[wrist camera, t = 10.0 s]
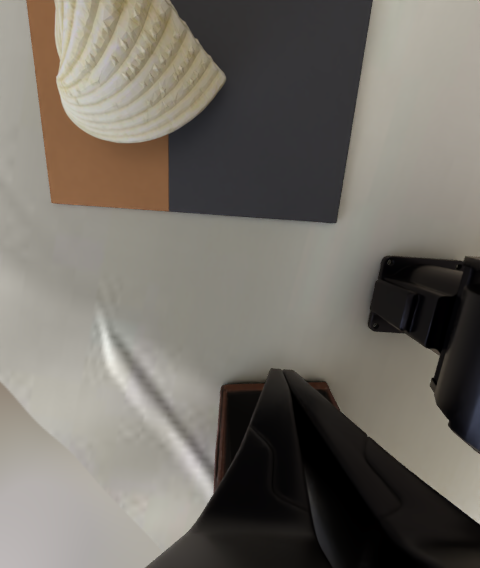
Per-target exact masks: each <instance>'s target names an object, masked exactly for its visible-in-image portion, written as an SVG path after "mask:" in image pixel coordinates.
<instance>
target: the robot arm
mask: <svg viewBox="0 0 480 568" xmlns="http://www.w3.org/2000/svg"><path fill="white" fill-rule="evenodd" d="M389 260H391V263H390V264H389V265H388V261H389ZM456 265H458V267H457V268H456ZM370 309H371V313H370V317H369V322H368V327H369V328H370V329H371V330H373V331H377V332H392V333H405V334H407V335H408V336H410V337H411V338H413V339H414V340H416V341H417V342H418V343H420V344H421V345H423V346H424V347H426V348H428V349H430V350H432V351H433V352H435V353H436V354H438V355H439V356H440V358H439V361H438V365H437V368H436V372H435V376H434V378H432V379H431V383H430V387H431V389H432V390H433V392H434V396H435V400H436V404H437V406H438V407H439V408H440V410H441V411H442V412H443V414H444V415H445V416H446V418H447V419H448V420H449V423H448V426H449V427H450V429H451V430H452V431H453V432H454V433H455V434H456V435H457V436H458V437H460V438H461V439H462V440H463V441H464V442H465V443H467V444H468V445H469V446H471V447H472V448H473V449H474V450H475V451H476V452H478V453H479V454H480V257H473V256H465V258H464V262H462V261H458V260H445V259H431V258H416V257H402V256H386V257H384V258H383V259H382V262H381V267H380V271H379V276H378V280H377V281H376V283H375V288H374V293H373V297H372V302H371V306H370ZM375 323H377V325H376V326H375V327H373V325H374V324H375ZM145 568H480V524H478V523H477V522H476V521H474V520H473V519H472V518H470V517H469V516H468V515H467V514H465V513H464V512H463V511H461V510H460V509H459V508H457V507H456V506H455V505H454V504H452V503H451V502H450V501H448V500H447V499H446V498H444V497H443V496H442V495H441V494H439V493H438V492H437V491H435V490H434V489H433V488H432V487H430V486H429V485H428V484H426V483H425V482H424V481H422V480H421V479H420V478H419V477H417V476H416V475H415V474H414V473H412V472H411V471H410V470H409V469H407V468H406V467H405V466H403V465H402V464H401V463H400V462H398V461H397V460H396V459H395V458H394V457H393V456H391V455H390V454H389V453H388V452H387V451H385V450H384V449H383V448H382V447H381V446H380V445H378V444H377V443H376V442H375V441H374V440H373V439H371V438H370V437H367V434H366V433H365V432H363V431H362V430H361V429H360V428H359V427H358V426H357V425H355V424H354V423H353V422H352V421H351V420H350V419H349V418H347V417H346V416H345V415H344V414H343V413H342V412H341V411H339V410H338V409H337V408H336V407H335V406H334V405H333V404H331V403H330V402H329V401H328V400H327V399H326V398H325V397H323V396H322V395H321V394H320V393H319V392H318V391H317V390H315V389H314V388H313V387H312V386H311V385H310V384H309V383H307V382H306V381H305V380H304V379H303V378H302V377H301V376H299V375H298V374H297V373H296V372H295V371H293V370H285V369H284V370H281V369H273V368H271V369H270V371H269V374H268V376H267V379H266V382H265V384H264V387H263V390H262V392H261V395H260V397H259V400H258V403H257V405H256V408H255V411H254V413H253V416H252V418H251V421H250V424H249V426H248V428H247V431H246V434H245V436H244V439H243V441H242V443H241V446H240V448H239V450H238V452H237V454H236V456H235V458H234V459H233V461H232V463H231V465H230V467H229V468H228V470H227V472H226V474H225V475H224V477H223V479H222V480H221V482H220V484H219V485H218V487H217V489H216V491H215V492H214V494H213V496H212V497H211V499H210V501H209V502H208V504H207V506H206V507H205V509H204V511H203V512H202V514H201V515H200V517H199V518H198V520H197V521H196V523H195V524H194V525H193V526H192V528H191V529H190V530H189V531H188V532H187V533H186V534H185V535H184V536H183V537H181V538H180V539H179V540H178V541H177V542H175V543H174V544H173V545H172V546H171V547H169V548H168V549H167V550H166V551H165V552H163V553H162V554H161V555H160V556H159V557H157V558H156V559H155V560H154V561H153V562H151V563H150V564H149V565H148V566H147V567H145Z"/></svg>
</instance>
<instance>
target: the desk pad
mask: <svg viewBox="0 0 480 568" xmlns="http://www.w3.org/2000/svg"><path fill="white" fill-rule="evenodd" d="M26 1H27V9H28V17H29V25H30V33H31V41H32V49H33V57H34V65H35V73H36V81H37V89H38V97H39V105H40V114H41V122H42V130H43V138H44V146H45V154H46V162H47V170H48V178H49V186H50V194H51V202H52V203H57V204H72V205H86V206H100V207H115V208H129V209H143V210H157V211H172V212H186V213H200V214H214V215H229V216H243V217H257V218H272V219H286V220H300V221H314V222H329V223H336V222H337V215H338V209H339V203H340V197H341V191H342V185H343V179H344V173H345V166H346V160H347V154H348V148H349V142H350V136H351V130H352V124H353V118H354V111H355V105H356V99H357V93H358V87H359V81H360V75H361V69H362V62H363V56H364V50H365V44H366V38H367V32H368V26H369V20H370V14H371V7H372V1H373V0H170V1H171V4H172V5H173V6H174V8H175V10H176V11H177V13H178V16H179V17H180V18H181V19H182V20H183V21H185V23H186V25H187V26H188V27H189V29H190V31H191V33H192V35H193V36H194V38H195V39H198V41H199V43H200V45H201V46H202V47H203V49H204V50H205V51H206V53H207V54H208V55H210V56H211V58H212V60H213V62H214V63H215V64H216V65H217V66H218V67H219V68H220V69H221V70H222V71H223V73H224V74H225V76H226V81H225V83H224V85H223V87H222V88H221V89H220V90H219V92H218V93H217V94H216V96H215V97H214V99H213V100H212V101H211V102H210V103H209V104H208V105H207V107H206V108H205V109H204V110H203V111H202V112H201V113H200V114H198V115H197V116H196V117H195V118H194V119H192V120H191V121H190V122H188V123H187V124H185V125H184V126H182V127H181V128H179V129H177V130H176V131H174V132H172V133H169V134H167V135H165V136H162V137H159V138H156V139H153V140H150V141H144V142H138V143H116V142H111V141H106V140H102V139H99V138H96V137H94V136H92V135H90V134H88V133H86V132H84V131H83V130H82V129H80V128H79V127H78V126H77V125H75V124H74V123H73V122H72V120H71V119H70V118H69V117H68V115H67V114H66V112H65V110H64V108H63V105H62V102H61V97H60V94H59V90H58V87H57V82H56V76H57V75H58V71H59V66H60V58H59V55H58V52H57V47H56V41H55V12H56V7H55V2H54V0H26Z"/></svg>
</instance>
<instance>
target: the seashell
mask: <svg viewBox="0 0 480 568" xmlns="http://www.w3.org/2000/svg"><path fill="white" fill-rule="evenodd" d="M54 2H55V7H56V12H55V41H56V47H57V52H58V55H59V58H60V66H59V71H58V75H57V76H56V82H57V87H58V90H59V94H60V97H61V102H62V105H63V108H64V110H65V112H66V114H67V115H68V117H69V118H70V119H71V120H72V122H73V123H74V124H75V125H77V126H78V127H79V128H80V129H82V130H83V131H84V132H86V133H88V134H90V135H92V136H94V137H96V138H99V139H102V140H106V141H111V142H116V143H138V142H144V141H150V140H153V139H156V138H159V137H162V136H165V135H167V134H169V133H172V132H174V131H176V130H177V129H179V128H181V127H182V126H184V125H185V124H187V123H188V122H190V121H191V120H192V119H194V118H195V117H196V116H197V115H198V114H200V113H201V112H202V111H203V110H204V109H205V108H206V107H207V105H208V104H209V103H210V102H211V101H212V100H213V99H214V97H215V96H216V94H217V93H218V92H219V90H220V89H221V88H222V87H223V85H224V83H225V81H226V76H225V74H224V73H223V71H222V70H221V69H220V68H219V67H218V66H217V65H216V64H215V63H214V62H213V60H212V58H211V56H210V55H208V54H207V53H206V51H205V50H204V49H203V47H202V46H201V45H200V43H199V41H198V39H195V38H194V36H193V35H192V33H191V31H190V29H189V27H188V26H187V25H186V23H185V21H183V20H182V19H181V18H180V17H179V16H178V13H177V11H176V10H175V8H174V6H173V5H172V4H171V1H170V0H54Z"/></svg>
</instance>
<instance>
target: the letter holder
mask: <svg viewBox="0 0 480 568" xmlns="http://www.w3.org/2000/svg"><path fill="white" fill-rule="evenodd" d="M307 383H309V384H310V385H311V386H312V387H313V388H314V389H315V390H317V391H318V392H319V393H320V394H321V395H322V396H323V397H325V398H326V399H327V400H328V401H329V402H330V403H331V404H333V405H334V406H335V407H336V408H337V409H338V410H339V411H340V409H339V407H338V406H337V403H336V401H335V399H334V397H333V395H332V393H331V391H330V389H329V386H328V384H327V383H326V382H307ZM264 384H265V383H255V384H225V385H223V386H222V387H221V391H220V404H219V418H218V430H217V441H216V452H215V466H214V492H215V491H216V489H217V487H218V485H219V484H220V482H221V480H222V479H223V477H224V475H225V474H226V472H227V470H228V468H229V467H230V465H231V463H232V461H233V459H234V458H235V456H236V454H237V452H238V450H239V448H240V446H241V443H242V441H243V439H244V436H245V434H246V431H247V428H248V426H249V424H250V421H251V418H252V416H253V413H254V411H255V408H256V405H257V403H258V400H259V397H260V395H261V392H262V390H263V387H264Z"/></svg>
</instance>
